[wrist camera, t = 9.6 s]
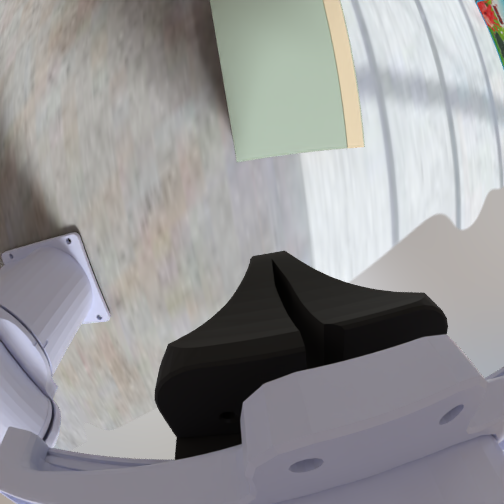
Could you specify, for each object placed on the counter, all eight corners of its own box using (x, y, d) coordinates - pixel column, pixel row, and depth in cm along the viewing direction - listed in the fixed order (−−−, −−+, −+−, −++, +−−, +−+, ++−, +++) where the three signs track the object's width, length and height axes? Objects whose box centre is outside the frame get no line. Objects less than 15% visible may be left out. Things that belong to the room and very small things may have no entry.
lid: (236, 161, 16) (237, 162, 15) (204, -33, 11) (203, -39, 10) (360, 145, 16) (365, 146, 15) (325, -37, 11) (328, -42, 10)
